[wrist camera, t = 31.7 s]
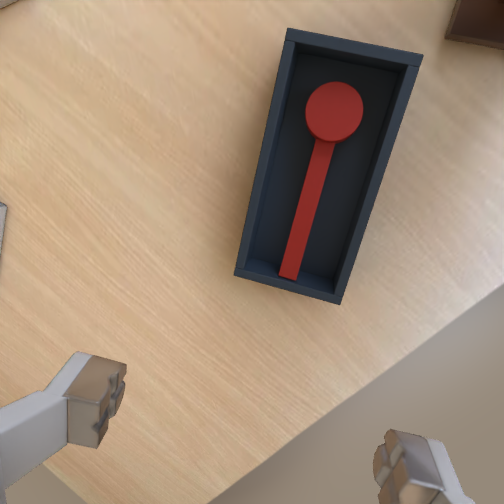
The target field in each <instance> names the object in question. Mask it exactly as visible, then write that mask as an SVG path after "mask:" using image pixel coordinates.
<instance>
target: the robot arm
mask: <svg viewBox="0 0 504 504" xmlns="http://www.w3.org/2000/svg"><path fill="white" fill-rule="evenodd" d="M15 1H17V0H0V9H1V8H3V7H5V6H7V5H9V4H11V3H13V2H15ZM126 370H127V365H126V364H124V363H121V362H117V361H114V360H110V359H106V358H103V357H99V356H95V355H91V354H87V353H83V352H80V351H77V352H76V353H74V354H73V355H72V356H71V357H70V358H69V360H68V361H67V362H66V363H65V365H64V366H63V367H62V368H61V370H60V371H59V372H58V373H57V375H56V376H55V377H54V378H53V379H52V381H51V382H50V383H49V384H48V386H47V387H46V388H45V389H44V391H43V392H42V391H36V392H34V393H31V394H29V395H27V396H25V397H23V398H21V399H19V400H17V401H15V402H12V403H10V404H8V405H6V406H4V407H2V408H0V504H6V497H5V489H7V488H8V487H9V486H10V485H12V484H13V483H15V482H16V481H17V480H19V479H20V478H22V477H23V476H25V475H26V474H27V473H29V472H30V471H31V470H33V469H34V468H35V467H37V466H38V465H40V464H41V463H42V462H44V461H45V460H47V459H48V458H49V457H51V456H52V455H53V454H55V453H56V452H58V451H59V450H60V449H62V448H63V447H64V446H66V445H67V443H72V444H76V445H81V446H86V447H90V448H95V449H97V448H98V446H99V444H100V443H101V441H102V439H103V437H104V435H105V433H106V431H107V430H108V423H109V419H110V418H112V417H113V416H115V414H116V413H117V411H118V409H119V407H120V404H121V401H122V399H123V395H124V391H125V382H124V381H123V378H124V376H125V375H126ZM384 439H385V443H384V444H382V445H380V446H378V448H377V450H376V452H375V454H374V460H373V473H374V478H375V481H376V482H377V483H378V485H379V486H380V487H381V490H380V492H379V494H378V499H379V503H380V504H476V503H475V502H474V501H473V500H472V499H471V498H470V497H466V496H465V495H464V493H463V490H462V488H461V485H460V483H459V481H458V478H457V476H456V473H455V471H454V468H453V466H452V463H451V461H450V459H449V456H448V454H447V451H446V449H445V447H444V444H443V443H442V442H441V441H438V440H435V439H431V438H427V437H422V436H418V435H414V434H410V433H406V432H401V431H397V430H393V429H390V430H388V431H387V432H386V434H385V436H384Z"/></svg>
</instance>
